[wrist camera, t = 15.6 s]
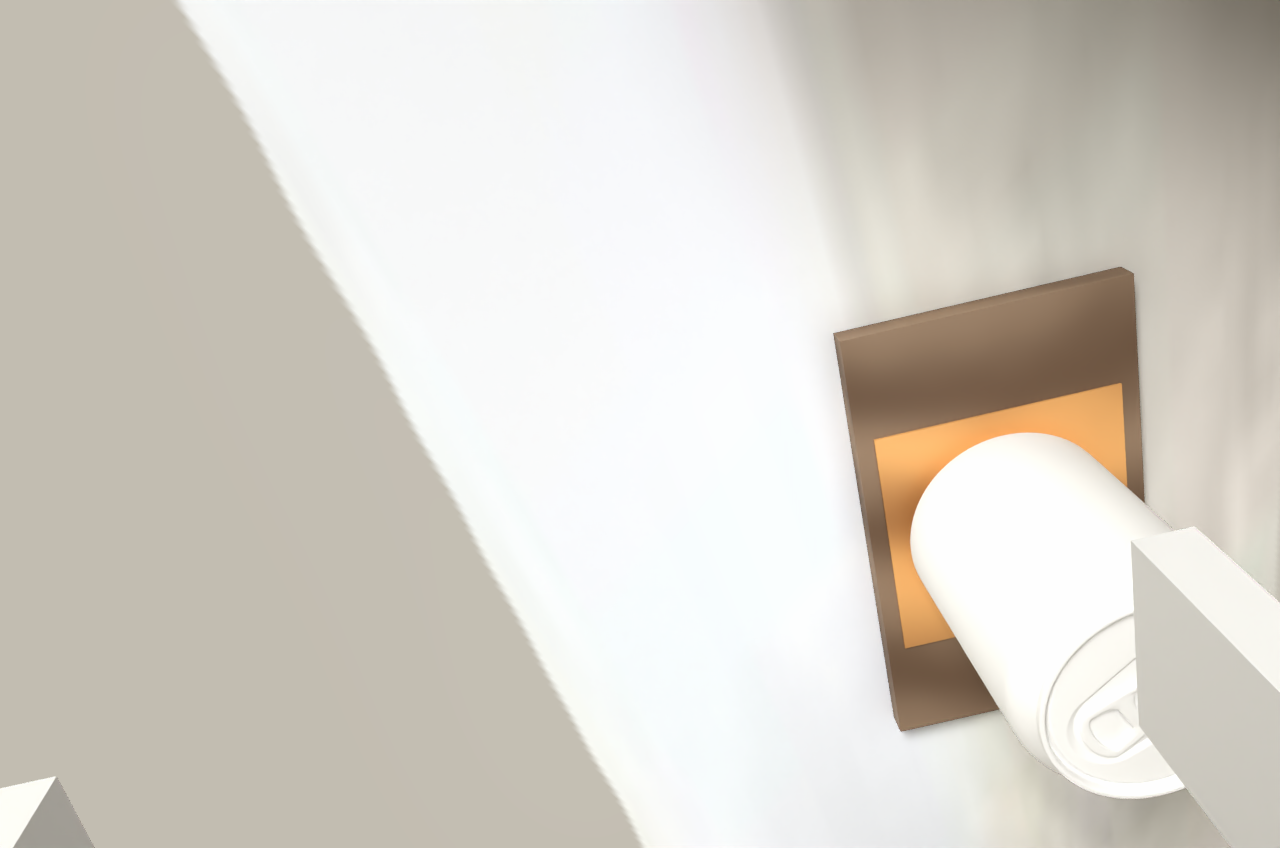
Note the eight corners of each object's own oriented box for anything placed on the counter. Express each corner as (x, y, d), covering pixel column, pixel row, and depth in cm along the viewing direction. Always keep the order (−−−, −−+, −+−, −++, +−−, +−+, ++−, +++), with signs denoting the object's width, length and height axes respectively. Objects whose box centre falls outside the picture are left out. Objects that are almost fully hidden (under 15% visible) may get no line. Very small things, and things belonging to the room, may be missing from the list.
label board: (833, 333, 42) (840, 342, 41) (1120, 266, 42) (1135, 274, 41) (894, 717, 49) (901, 732, 48) (1141, 661, 49) (1153, 675, 48)
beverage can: (1143, 522, 45) (1338, 704, 34) (980, 643, 46) (1115, 854, 35) (1033, 383, 42) (1205, 531, 31) (864, 517, 44) (970, 702, 33)
